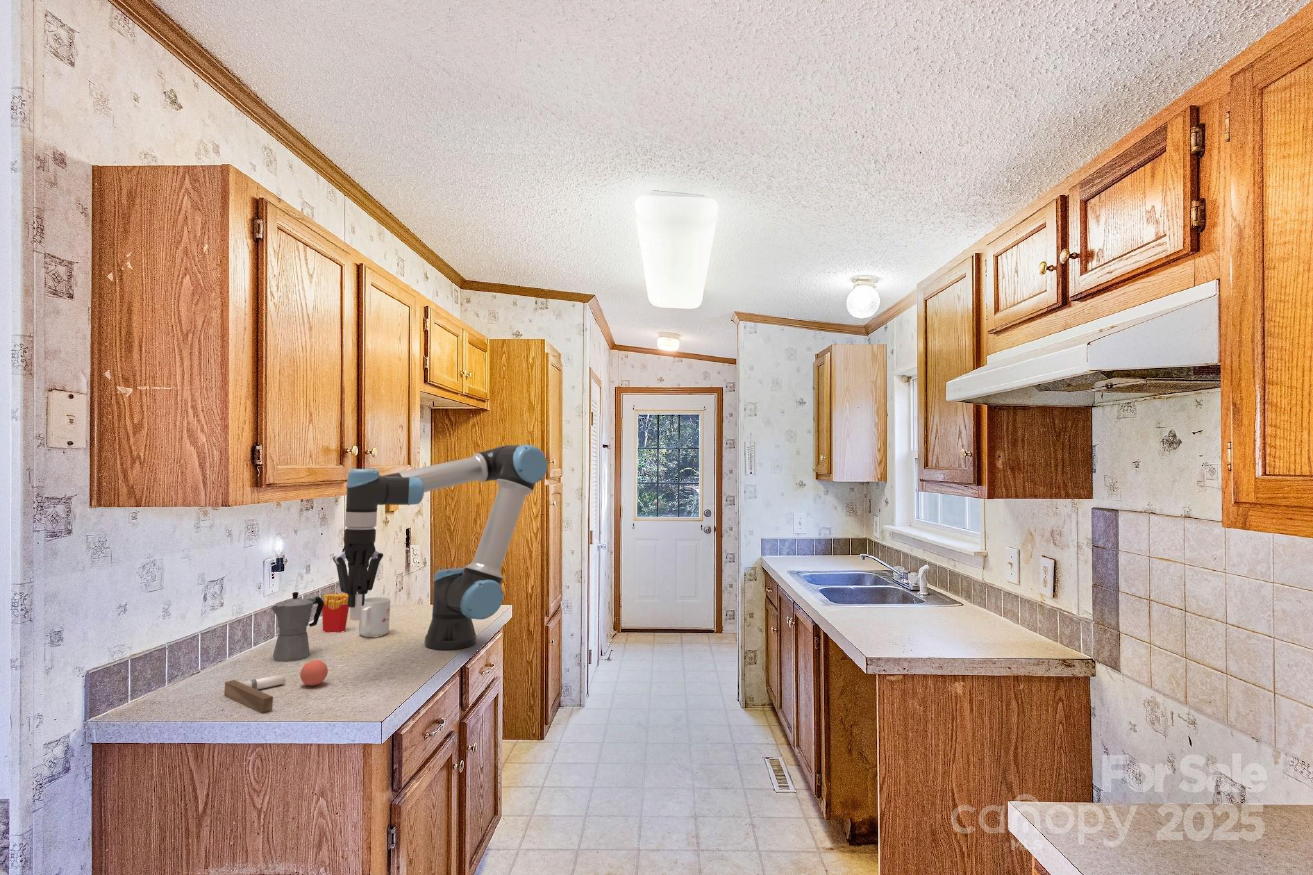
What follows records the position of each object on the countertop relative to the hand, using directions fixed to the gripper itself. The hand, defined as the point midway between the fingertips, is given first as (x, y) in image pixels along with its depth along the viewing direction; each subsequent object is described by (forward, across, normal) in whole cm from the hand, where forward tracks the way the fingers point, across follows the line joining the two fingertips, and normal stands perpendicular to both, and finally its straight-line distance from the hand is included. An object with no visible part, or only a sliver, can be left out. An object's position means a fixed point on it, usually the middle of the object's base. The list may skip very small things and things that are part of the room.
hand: (355, 619), depth 168 cm
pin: (+13, +14, -7) cm, 20 cm away
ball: (+11, +10, 0) cm, 15 cm away
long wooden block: (+14, +25, 0) cm, 29 cm away
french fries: (+15, -22, -46) cm, 53 cm away
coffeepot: (+15, 0, -28) cm, 32 cm away
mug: (+15, -26, -32) cm, 44 cm away
